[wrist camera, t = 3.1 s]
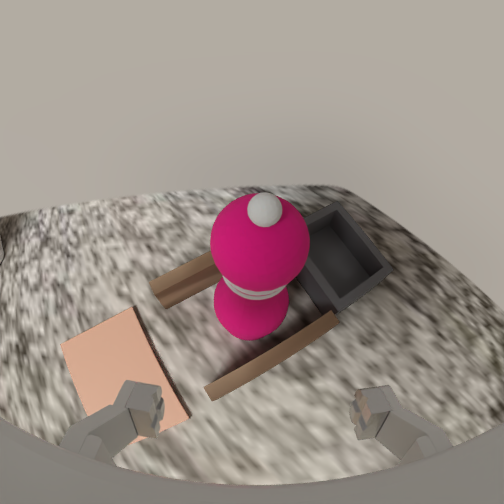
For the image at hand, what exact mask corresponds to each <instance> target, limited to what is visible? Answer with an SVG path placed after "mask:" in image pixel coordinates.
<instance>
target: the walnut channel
mask: <svg viewBox="0 0 504 504" xmlns="http://www.w3.org/2000/svg"><path fill="white" fill-rule="evenodd" d="M222 277H223V276H222V274H221V272H220V271H219V269H218V268H217V266H216V265H215V262H214V259H213V257H212V254H211V251H209V252H207V253H205V254H203V255H201V256H199V257H197V258H195V259H193V260H191V261H189V262H187V263H185V264H183V265H181V266H179V267H178V268H176V269H174V270H172V271H170V272H168V273H166V274H164V275H162V276H160V277H158V278H156V279H154V280H152V281H150V282H149V284H150V286H151V288H152V290H153V293H154V295H155V296H156V297H157V299H158V300H159V301H160V303H161V304H162V305H163V306H164V308H165V309H168V308H170V307H172V306H174V305H176V304H178V303H179V302H181V301H183V300H185V299H187V298H189V297H191V296H193V295H195V294H197V293H199V292H200V291H202V290H204V289H206V288H208V287H210V286H212V285H214V284H216V283H218V282H219V281H220V279H221V278H222ZM338 323H340V322H339V320H338V319H337V318H336V316H335V315H334V313H333V312H332V310H330V311H329V312H328V313H326V314H325V315H323V316H322V317H320V318H319V319H317V320H316V321H314V322H313V323H311V324H310V325H308V326H307V327H305V328H304V329H302V330H301V331H299V332H297V333H296V334H294V335H293V336H291V337H290V338H288V339H286V340H285V341H283V342H282V343H280V344H278V345H277V346H275V347H274V348H272V349H270V350H269V351H267V352H265V353H264V354H262V355H260V356H259V357H257V358H255V359H253V360H252V361H250V362H248V363H247V364H245V365H243V366H241V367H240V368H238V369H236V370H234V371H232V372H231V373H229V374H227V375H225V376H223V377H222V378H220V379H218V380H216V381H214V382H212V383H210V384H208V385H207V386H205V387H204V389H205V391H206V392H207V394H208V396H209V397H210V399H211V401H214V400H217V399H219V398H221V397H222V396H224V395H226V394H228V393H230V392H232V391H233V390H235V389H237V388H239V387H241V386H242V385H244V384H246V383H248V382H249V381H251V380H253V379H255V378H256V377H258V376H260V375H261V374H263V373H265V372H266V371H268V370H270V369H271V368H273V367H275V366H276V365H278V364H279V363H281V362H283V361H284V360H286V359H287V358H289V357H290V356H292V355H294V354H295V353H297V352H298V351H300V350H301V349H303V348H304V347H306V346H307V345H309V344H310V343H312V342H313V341H315V340H316V339H318V338H319V337H321V336H322V335H323V334H325V333H326V332H328V331H329V330H330V329H332V328H333V327H334V326H336V325H337V324H338Z"/></svg>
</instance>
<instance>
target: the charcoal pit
mask: <svg viewBox="0 0 504 504" xmlns="http://www.w3.org/2000/svg"><path fill="white" fill-rule="evenodd" d="M303 219H304V221H305V223H306V225H307V228H308V232H309V237H310V248H309V253H308V257H307V260H306V262H305V265H304V267H303V268H302V270H301V271H300V273H299V274H298V275H297V276H296V278H297V279H298V281H299V282H300V284H301V285H302V286H303V288H304V289H305V291H306V292H307V293H308V295H309V296H310V298H311V299H312V301H313V302H314V303H315V305H316V306H317V308H318V309H319V311H320V312H321V313H322V315H325V314H326V313H328V312H329V311H330V310H332V312H333V313H334V315H335V316H336V315H337V314H338V313H340V312H341V311H343V310H344V309H345V308H347V307H348V306H350V305H351V304H352V303H354V302H355V301H356V300H358V299H359V298H360V297H362V296H363V295H364V294H366V293H367V292H368V291H370V290H371V289H372V288H374V287H375V286H376V285H377V284H379V283H380V282H381V281H382V280H383V279H384V278H385V277H387V276H388V275H389V274H390V273H391V272H392V271H393V270H394V269H393V268H392V267H391V265H390V264H389V263H388V262H387V260H386V259H385V258H384V256H383V255H382V254H381V253H380V251H379V250H378V249H377V247H376V246H375V245H374V244H373V242H372V241H371V240H370V239H369V237H368V236H367V235H366V234H365V233H364V231H363V230H362V229H361V228H360V227H359V225H358V224H357V223H356V222H355V221H354V219H353V218H352V217H351V216H350V215H349V214H348V212H347V211H346V210H345V209H344V208H343V207H342V206H341V204H340V203H339V202H338V201H336V202H334V203H332V204H330V205H328V206H326V207H324V208H322V209H320V210H319V211H317V212H315V213H313V214H311V215H309V216H307V217H305V218H303Z"/></svg>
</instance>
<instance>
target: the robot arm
mask: <svg viewBox="0 0 504 504" xmlns="http://www.w3.org/2000/svg"><path fill="white" fill-rule="evenodd" d="M3 257H4V251H3V247H2V242H1V237H0V263H1V261H2V259H3ZM161 395H162V389H161V386H159V385H153V384H147V383H142V382H136V381H131V380H126V381H125V382H124V383H123V385H122V387H121V389H120V391H119V393H118V395H117V397H116V399H115V401H114V403H113V405H108V406H106V407H104V408H102V409H101V410H99V411H97V412H95V413H94V414H92V415H90V416H88V417H86V418H84V419H83V420H81V421H79V422H77V423H75V424H73V425H71V426H70V427H69V428H68V430H67V432H66V434H65V436H64V438H63V439H62V441H61V443H60V445H59V446H57V445H54V444H52V443H50V442H47V441H45V440H43V439H41V438H39V437H37V436H35V435H33V434H30V433H28V432H26V431H25V430H23V429H21V428H19V427H17V426H15V425H13V424H11V423H10V422H8V421H6V420H5V419H3V418H1V417H0V504H504V423H502V424H500V425H498V426H496V427H494V428H492V429H490V430H488V431H486V432H484V433H482V434H480V435H478V436H476V437H474V438H472V439H470V440H468V441H466V442H463V443H461V444H459V445H456V446H454V447H453V445H452V443H451V442H450V440H449V438H448V437H447V435H446V433H445V431H444V430H443V429H442V428H440V427H438V426H436V425H435V424H433V423H431V422H429V421H427V420H426V419H424V418H422V417H420V416H418V415H417V414H415V413H413V412H411V411H410V410H408V409H406V408H405V409H403V408H402V406H401V404H400V402H399V400H398V399H397V397H396V395H395V393H394V392H393V390H392V388H391V387H390V386H389V385H385V386H379V387H371V388H364V389H358V390H357V391H356V392H355V395H354V396H355V400H354V401H353V402H352V403H351V406H350V411H349V415H350V419H351V422H352V423H354V424H355V425H356V426H355V428H354V431H355V433H356V436H357V439H358V440H363V439H370V438H375V439H376V440H378V441H379V442H380V443H381V444H382V445H383V446H385V447H386V448H387V449H388V450H389V451H391V452H392V453H393V454H394V455H395V456H397V457H398V458H399V459H400V460H401V461H400V462H399V464H398V465H397V466H396V467H392V468H388V469H385V470H381V471H376V472H372V473H367V474H363V475H358V476H352V477H347V478H341V479H334V480H327V481H319V482H310V483H299V484H283V485H230V484H215V483H204V482H194V481H186V480H179V479H173V478H167V477H161V476H156V475H151V474H146V473H141V472H137V471H133V470H129V469H125V468H121V467H117V466H116V464H115V463H114V461H113V459H112V458H113V457H114V456H115V455H116V454H118V453H119V452H120V451H121V450H122V449H124V448H125V447H126V446H127V445H129V444H130V443H131V442H132V441H133V440H135V439H136V438H137V437H138V436H143V437H149V438H155V439H157V438H158V434H159V431H160V423H159V422H160V421H161V420H163V417H164V411H165V403H164V399H163V398H162V397H161Z"/></svg>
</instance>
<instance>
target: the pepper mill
mask: <svg viewBox="0 0 504 504" xmlns="http://www.w3.org/2000/svg"><path fill="white" fill-rule="evenodd" d="M210 246H211V254H212V257H213V259H214V262H215V265H216V266H217V268H218V269H219V271H220V272H221V274H222V276H223V277H222V278H221V279H220V281H219V283H218V284H217V287H216V289H215V294H214V309H215V313H216V316H217V318H218V319H219V321H220V323H221V324H222V325H223V326H224V327H225V328H226V329H227V330H228V331H229V332H230V333H231V334H232V335H233V336H235V337H237V338H239V339H242V340H257V339H260V338H263V337H264V336H266V335H268V334H270V333H272V332H273V331H274V330H276V329H277V328H278V327H279V326H280V325H281V323H282V322H283V320H284V318H285V316H286V313H287V310H288V305H289V295H288V291H287V288H286V285H287V284H288V283H289V282H290V281H291V280H293V279H294V278H295V277H296V276H297V275H298V274H299V273H300V271H301V270H302V268H303V267H304V265H305V262H306V260H307V257H308V253H309V248H310V237H309V232H308V228H307V225H306V223H305V221H304V219H303V217H302V215H301V214H300V213H299V212H298V210H297V209H296V208H295V207H294V206H293V205H292V204H290V203H289V202H288V201H286V200H284V199H282V198H280V197H278V196H275V195H273V194H271V193H267V192H266V193H255V194H249V195H245V196H242V197H239V198H237V199H236V200H234V201H232V202H231V203H229V204H228V205H227V206H226V207H225V208H224V209H223V210H222V211H221V212H220V213H219V215H218V216H217V218H216V220H215V222H214V224H213V228H212V232H211V241H210Z"/></svg>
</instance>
